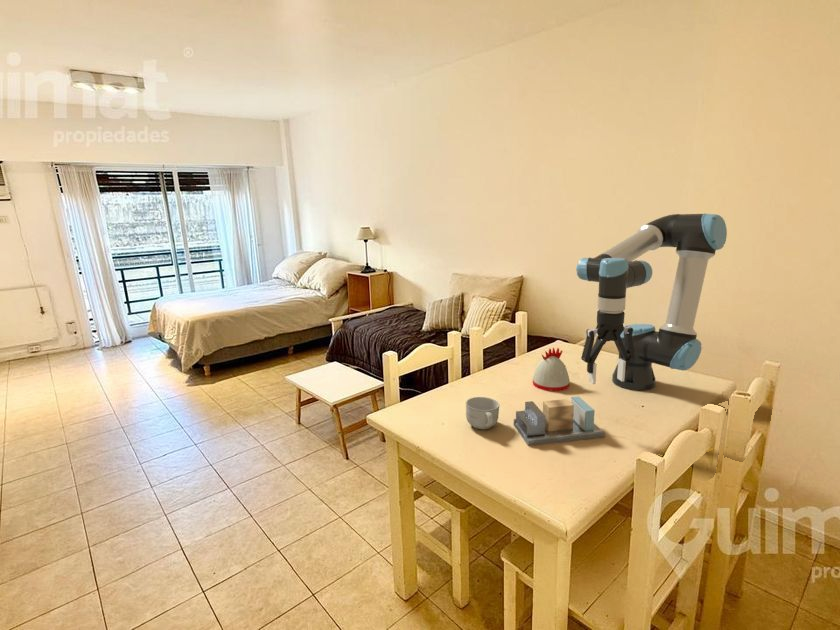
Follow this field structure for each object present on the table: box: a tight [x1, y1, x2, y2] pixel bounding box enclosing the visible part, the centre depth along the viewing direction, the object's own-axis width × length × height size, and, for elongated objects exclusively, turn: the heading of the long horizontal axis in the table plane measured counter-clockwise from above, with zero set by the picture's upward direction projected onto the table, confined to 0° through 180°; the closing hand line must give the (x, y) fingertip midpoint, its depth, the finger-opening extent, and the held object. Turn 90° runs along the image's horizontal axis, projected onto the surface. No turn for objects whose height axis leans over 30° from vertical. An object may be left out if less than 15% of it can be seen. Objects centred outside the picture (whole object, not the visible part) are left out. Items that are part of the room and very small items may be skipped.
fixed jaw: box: [515, 400, 545, 438], centre depth 135 cm, size 6×10×7 cm, turn 7°
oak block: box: [542, 398, 574, 431], centre depth 136 cm, size 8×4×8 cm, turn 97°
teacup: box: [465, 396, 500, 430], centre depth 140 cm, size 14×11×8 cm
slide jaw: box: [570, 395, 596, 432], centre depth 137 cm, size 3×10×7 cm, turn 7°
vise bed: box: [513, 418, 605, 447], centre depth 137 cm, size 24×13×2 cm, turn 97°
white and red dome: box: [532, 347, 570, 392], centre depth 170 cm, size 14×14×15 cm
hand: (606, 381), depth 135 cm, fingers open, 9 cm apart
